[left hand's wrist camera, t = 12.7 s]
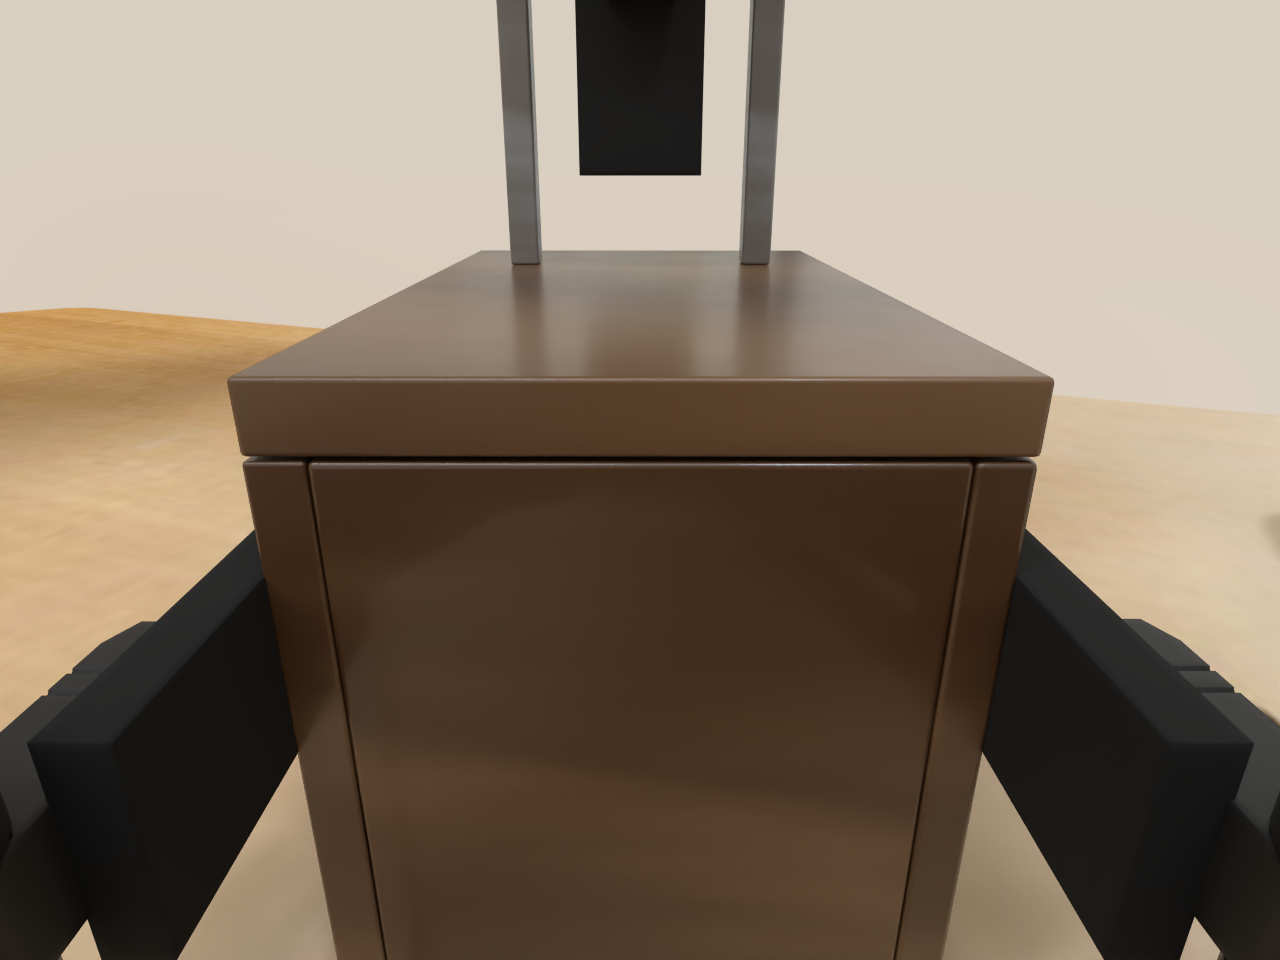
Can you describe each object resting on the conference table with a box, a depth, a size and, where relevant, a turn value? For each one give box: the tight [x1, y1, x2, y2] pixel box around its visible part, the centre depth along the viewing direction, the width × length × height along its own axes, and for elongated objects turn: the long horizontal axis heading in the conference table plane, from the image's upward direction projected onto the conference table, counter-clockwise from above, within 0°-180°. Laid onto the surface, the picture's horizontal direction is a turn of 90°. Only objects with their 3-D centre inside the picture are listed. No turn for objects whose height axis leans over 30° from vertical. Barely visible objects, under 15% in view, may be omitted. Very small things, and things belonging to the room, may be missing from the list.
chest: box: [243, 456, 1037, 960], centre depth 18 cm, size 14×9×10 cm, turn 0°
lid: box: [227, 0, 1054, 457], centre depth 15 cm, size 15×9×9 cm, turn 0°
